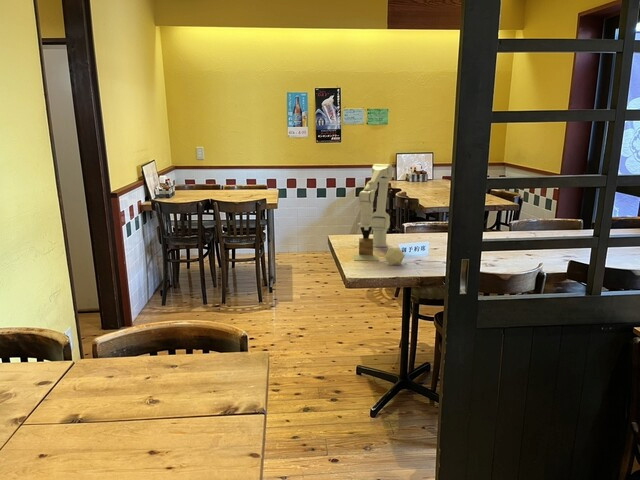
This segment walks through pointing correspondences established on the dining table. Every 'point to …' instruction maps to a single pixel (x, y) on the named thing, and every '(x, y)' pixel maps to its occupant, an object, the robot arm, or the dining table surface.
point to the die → (394, 256)
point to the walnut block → (365, 246)
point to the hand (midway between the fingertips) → (365, 241)
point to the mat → (366, 258)
